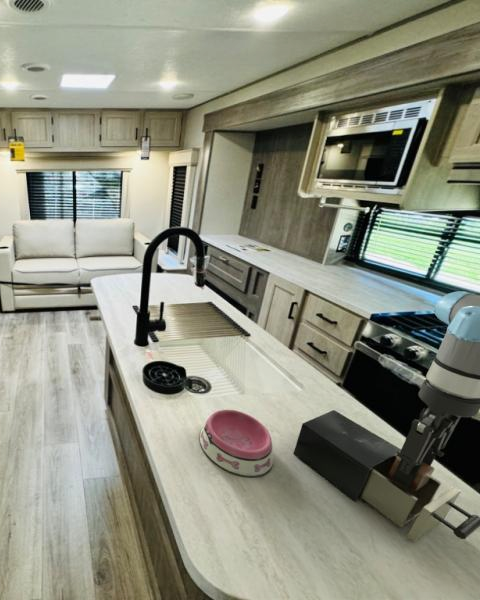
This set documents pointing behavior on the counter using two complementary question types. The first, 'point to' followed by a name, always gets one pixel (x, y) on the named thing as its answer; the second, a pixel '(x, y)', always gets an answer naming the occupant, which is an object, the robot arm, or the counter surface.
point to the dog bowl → (237, 443)
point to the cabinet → (342, 451)
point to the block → (420, 477)
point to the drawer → (414, 503)
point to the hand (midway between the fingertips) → (408, 477)
